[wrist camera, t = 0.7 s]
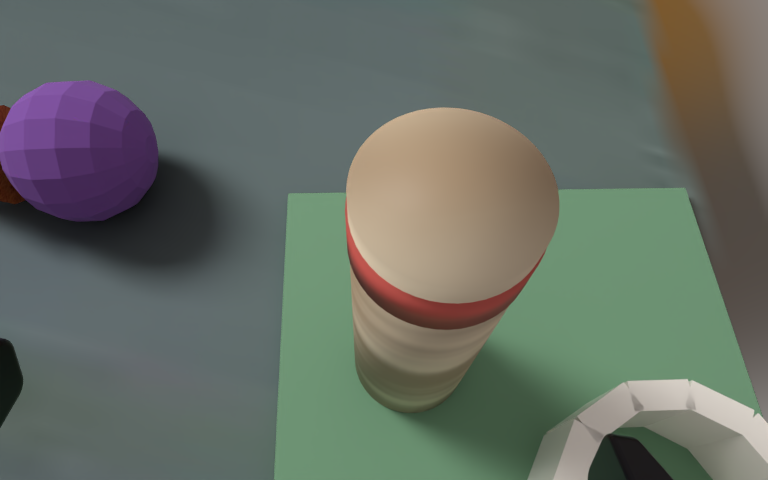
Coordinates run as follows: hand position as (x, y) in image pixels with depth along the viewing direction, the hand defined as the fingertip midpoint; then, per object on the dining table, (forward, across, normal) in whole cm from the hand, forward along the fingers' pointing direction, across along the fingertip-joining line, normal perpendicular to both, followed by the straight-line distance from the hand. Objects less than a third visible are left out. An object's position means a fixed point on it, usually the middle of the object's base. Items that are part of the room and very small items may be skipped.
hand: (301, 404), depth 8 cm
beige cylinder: (+11, -2, +9) cm, 15 cm away
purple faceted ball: (+16, +20, +7) cm, 27 cm away
